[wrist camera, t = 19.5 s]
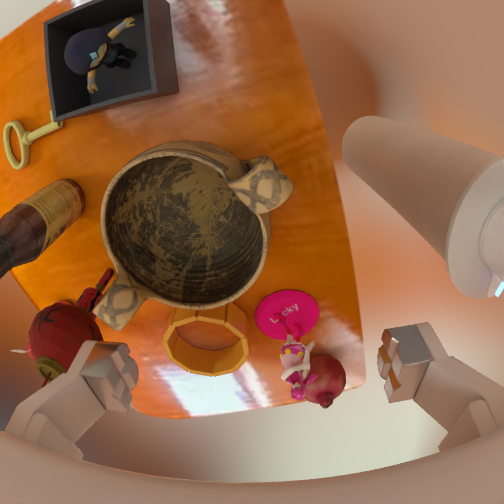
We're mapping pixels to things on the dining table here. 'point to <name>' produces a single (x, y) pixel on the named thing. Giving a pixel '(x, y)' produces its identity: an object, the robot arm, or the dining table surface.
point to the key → (25, 139)
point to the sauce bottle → (38, 223)
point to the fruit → (325, 380)
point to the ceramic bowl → (187, 227)
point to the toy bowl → (202, 358)
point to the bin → (117, 79)
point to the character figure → (97, 51)
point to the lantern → (65, 331)
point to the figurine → (290, 334)
